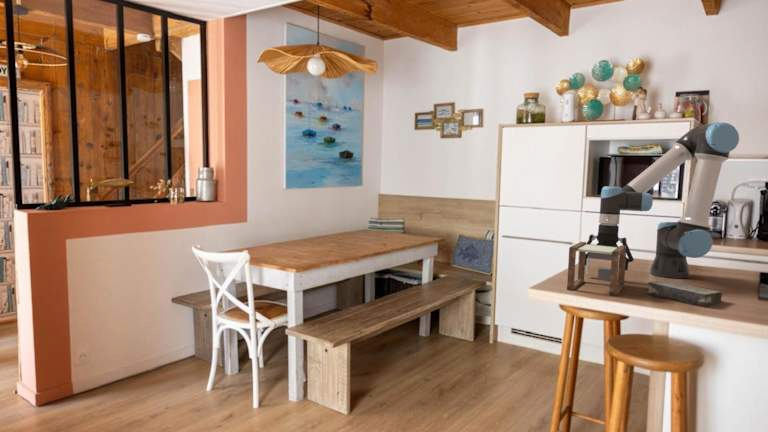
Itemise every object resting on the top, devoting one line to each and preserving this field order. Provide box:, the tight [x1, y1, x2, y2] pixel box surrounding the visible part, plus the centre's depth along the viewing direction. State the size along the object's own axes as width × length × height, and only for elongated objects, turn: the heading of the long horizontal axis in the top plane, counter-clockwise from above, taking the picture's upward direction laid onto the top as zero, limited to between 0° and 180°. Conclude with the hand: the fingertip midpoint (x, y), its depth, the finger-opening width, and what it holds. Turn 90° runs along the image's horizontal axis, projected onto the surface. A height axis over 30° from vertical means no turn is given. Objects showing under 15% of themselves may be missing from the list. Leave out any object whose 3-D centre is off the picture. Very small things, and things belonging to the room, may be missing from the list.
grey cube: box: [597, 266, 611, 282], centre depth 216 cm, size 5×5×5 cm
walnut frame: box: [566, 241, 627, 297], centre depth 200 cm, size 17×19×16 cm
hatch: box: [576, 243, 619, 261], centre depth 202 cm, size 12×21×6 cm, turn 147°
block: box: [647, 280, 723, 308], centre depth 187 cm, size 14×20×5 cm
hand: (604, 275), depth 216 cm, fingers open, 13 cm apart
